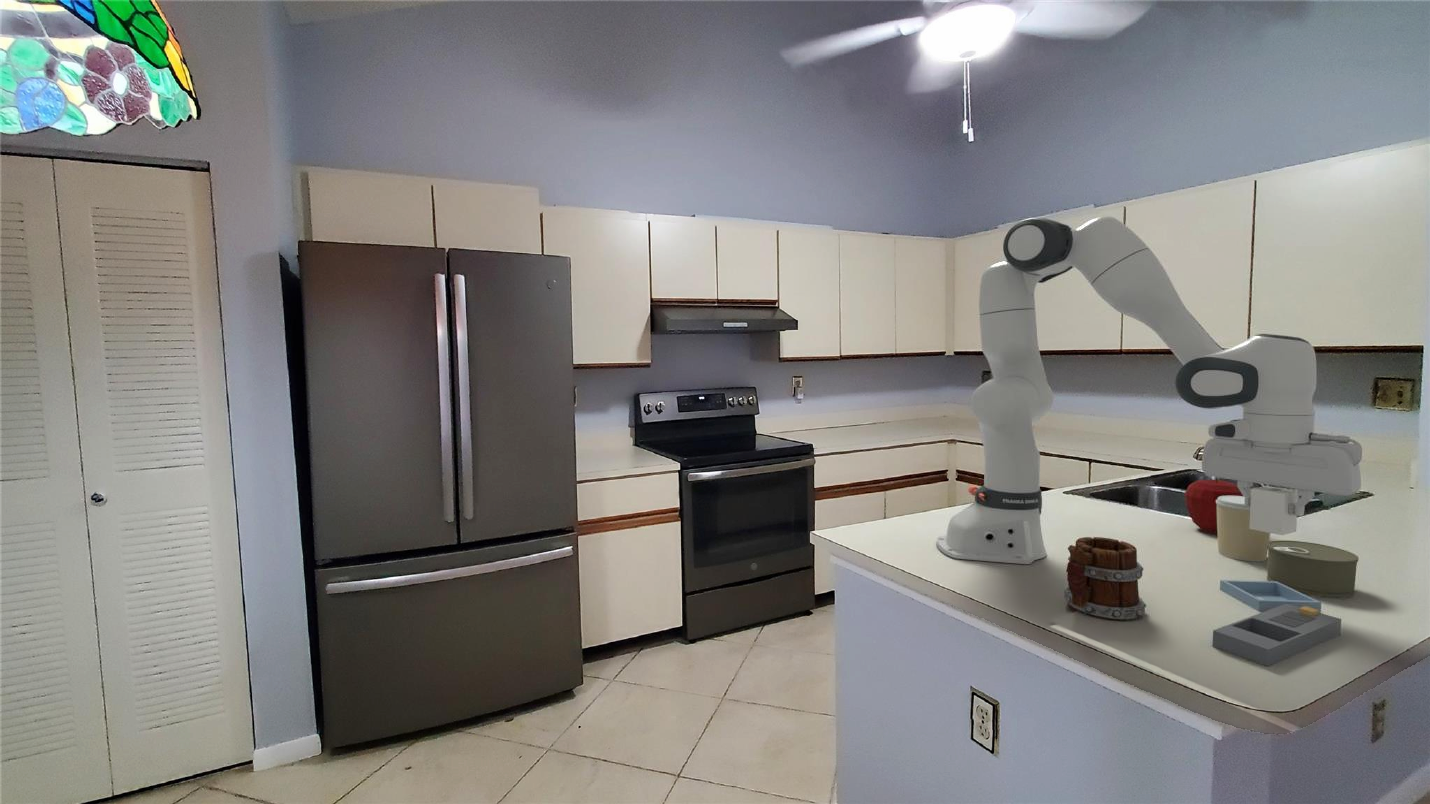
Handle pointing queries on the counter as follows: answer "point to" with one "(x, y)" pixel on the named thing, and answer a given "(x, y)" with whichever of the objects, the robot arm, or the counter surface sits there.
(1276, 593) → the tray
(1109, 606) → the mug
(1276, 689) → the counter surface
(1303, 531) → the counter surface
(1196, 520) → the apple
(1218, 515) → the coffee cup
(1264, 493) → the charger
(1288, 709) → the counter surface
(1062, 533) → the counter surface
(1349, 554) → the can
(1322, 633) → the grey compartment box
